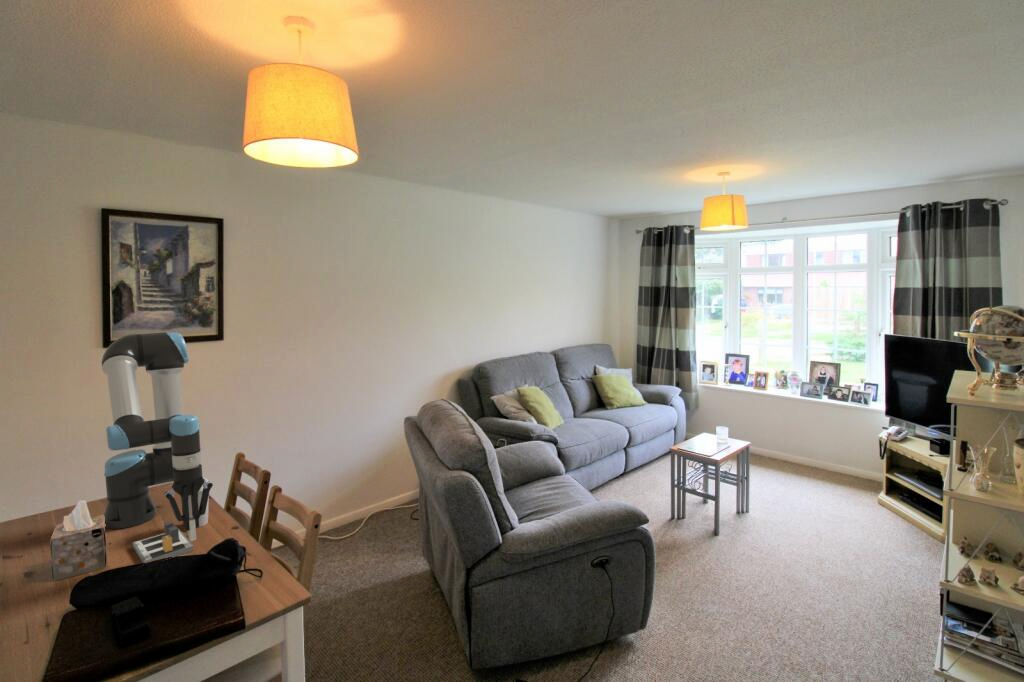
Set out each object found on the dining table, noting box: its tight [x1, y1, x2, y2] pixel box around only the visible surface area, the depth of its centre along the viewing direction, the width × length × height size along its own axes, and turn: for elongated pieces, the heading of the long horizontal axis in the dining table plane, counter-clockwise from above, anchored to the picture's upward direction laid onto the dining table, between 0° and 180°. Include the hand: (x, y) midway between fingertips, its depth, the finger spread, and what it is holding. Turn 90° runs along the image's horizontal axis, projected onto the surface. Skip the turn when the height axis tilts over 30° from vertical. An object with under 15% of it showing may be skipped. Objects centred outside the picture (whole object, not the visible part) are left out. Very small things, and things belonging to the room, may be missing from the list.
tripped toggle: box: [162, 535, 173, 552], centre depth 154 cm, size 2×2×4 cm
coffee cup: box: [179, 477, 210, 528], centre depth 174 cm, size 10×10×15 cm
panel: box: [132, 520, 194, 564], centre depth 158 cm, size 16×12×6 cm
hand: (192, 538), depth 159 cm, fingers closed
